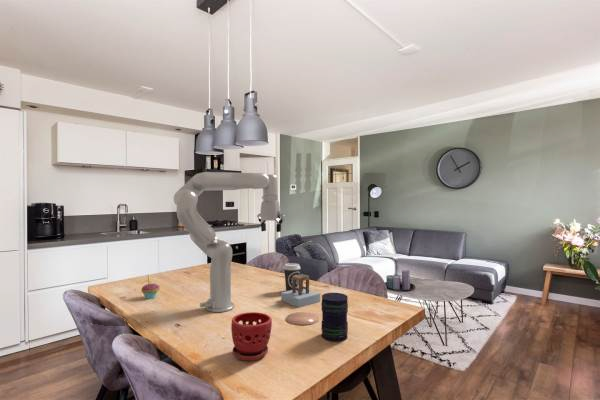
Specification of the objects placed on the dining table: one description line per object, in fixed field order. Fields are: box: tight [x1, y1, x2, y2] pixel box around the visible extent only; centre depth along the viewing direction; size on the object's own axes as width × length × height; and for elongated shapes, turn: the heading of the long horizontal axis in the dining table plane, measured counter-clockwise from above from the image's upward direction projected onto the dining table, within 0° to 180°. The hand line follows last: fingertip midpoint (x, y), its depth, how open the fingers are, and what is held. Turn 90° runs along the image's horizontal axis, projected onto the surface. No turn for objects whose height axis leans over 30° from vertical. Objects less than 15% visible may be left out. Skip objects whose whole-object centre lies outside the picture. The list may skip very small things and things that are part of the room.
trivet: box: [285, 311, 319, 326], centre depth 136 cm, size 14×14×1 cm
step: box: [280, 289, 321, 308], centre depth 160 cm, size 14×14×4 cm
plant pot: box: [230, 312, 273, 362], centre depth 104 cm, size 13×13×12 cm
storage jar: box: [320, 292, 349, 343], centre depth 118 cm, size 10×10×15 cm
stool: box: [292, 273, 310, 295], centre depth 160 cm, size 6×6×9 cm
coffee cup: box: [282, 262, 301, 292], centre depth 176 cm, size 10×10×15 cm
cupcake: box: [141, 274, 160, 300], centre depth 165 cm, size 9×8×12 cm
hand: (271, 231), depth 164 cm, fingers open, 9 cm apart
